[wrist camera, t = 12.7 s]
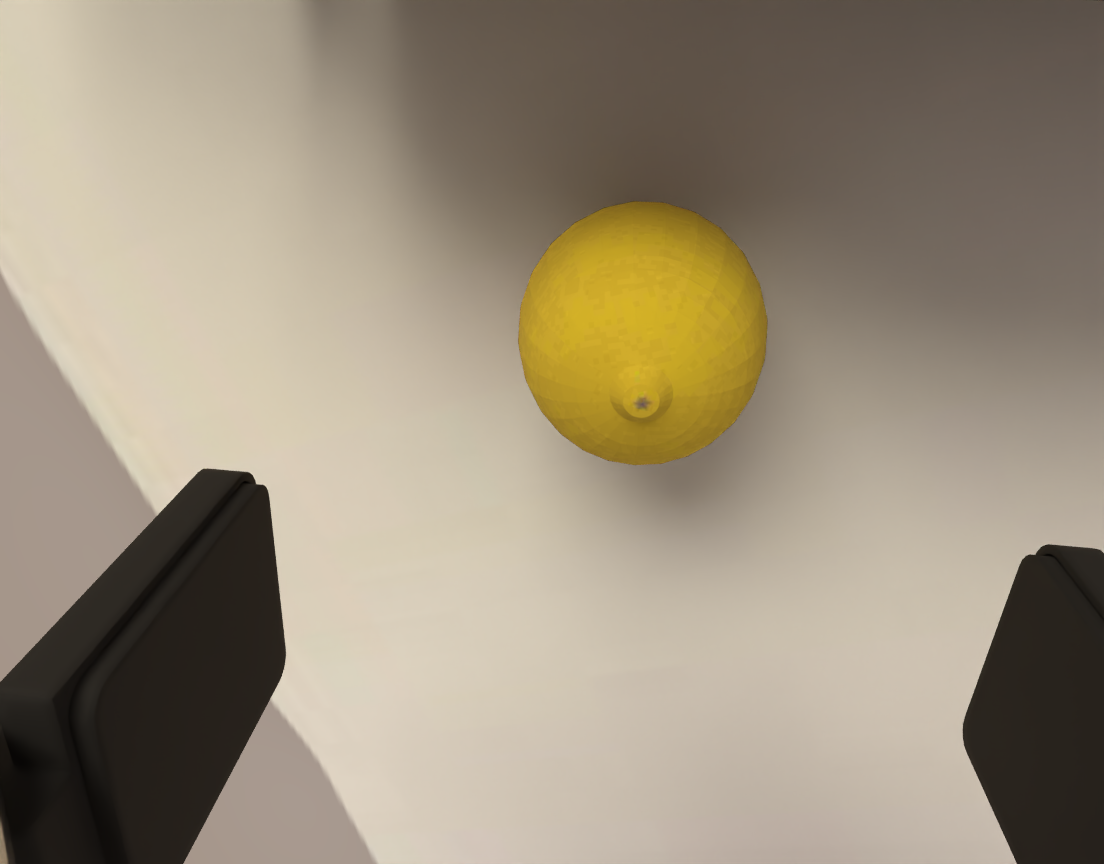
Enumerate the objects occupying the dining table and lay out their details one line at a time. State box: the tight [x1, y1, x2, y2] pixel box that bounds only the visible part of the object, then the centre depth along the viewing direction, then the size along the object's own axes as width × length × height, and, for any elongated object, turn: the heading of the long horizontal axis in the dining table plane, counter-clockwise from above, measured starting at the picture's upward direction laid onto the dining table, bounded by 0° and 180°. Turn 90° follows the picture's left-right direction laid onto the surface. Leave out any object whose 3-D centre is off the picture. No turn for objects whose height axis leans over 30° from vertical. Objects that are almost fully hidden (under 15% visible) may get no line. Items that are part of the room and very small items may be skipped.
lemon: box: [518, 201, 767, 465], centre depth 19 cm, size 6×6×8 cm
